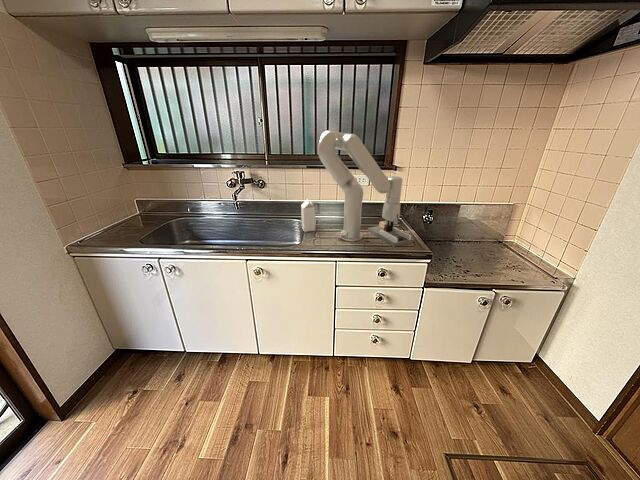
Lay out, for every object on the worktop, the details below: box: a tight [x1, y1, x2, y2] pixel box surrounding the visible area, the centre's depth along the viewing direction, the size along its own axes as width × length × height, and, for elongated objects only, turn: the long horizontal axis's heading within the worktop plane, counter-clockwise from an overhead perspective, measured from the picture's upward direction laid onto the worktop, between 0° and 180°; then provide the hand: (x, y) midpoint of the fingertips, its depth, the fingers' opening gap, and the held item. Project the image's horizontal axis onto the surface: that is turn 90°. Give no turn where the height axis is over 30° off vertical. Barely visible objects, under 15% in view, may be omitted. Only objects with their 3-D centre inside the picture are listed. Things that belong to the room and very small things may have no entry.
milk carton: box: [300, 198, 316, 233], centre depth 155 cm, size 7×7×19 cm
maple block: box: [378, 220, 387, 232], centre depth 150 cm, size 5×5×5 cm
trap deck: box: [367, 225, 413, 248], centre depth 147 cm, size 12×25×4 cm, turn 24°
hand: (389, 231), depth 146 cm, fingers closed
